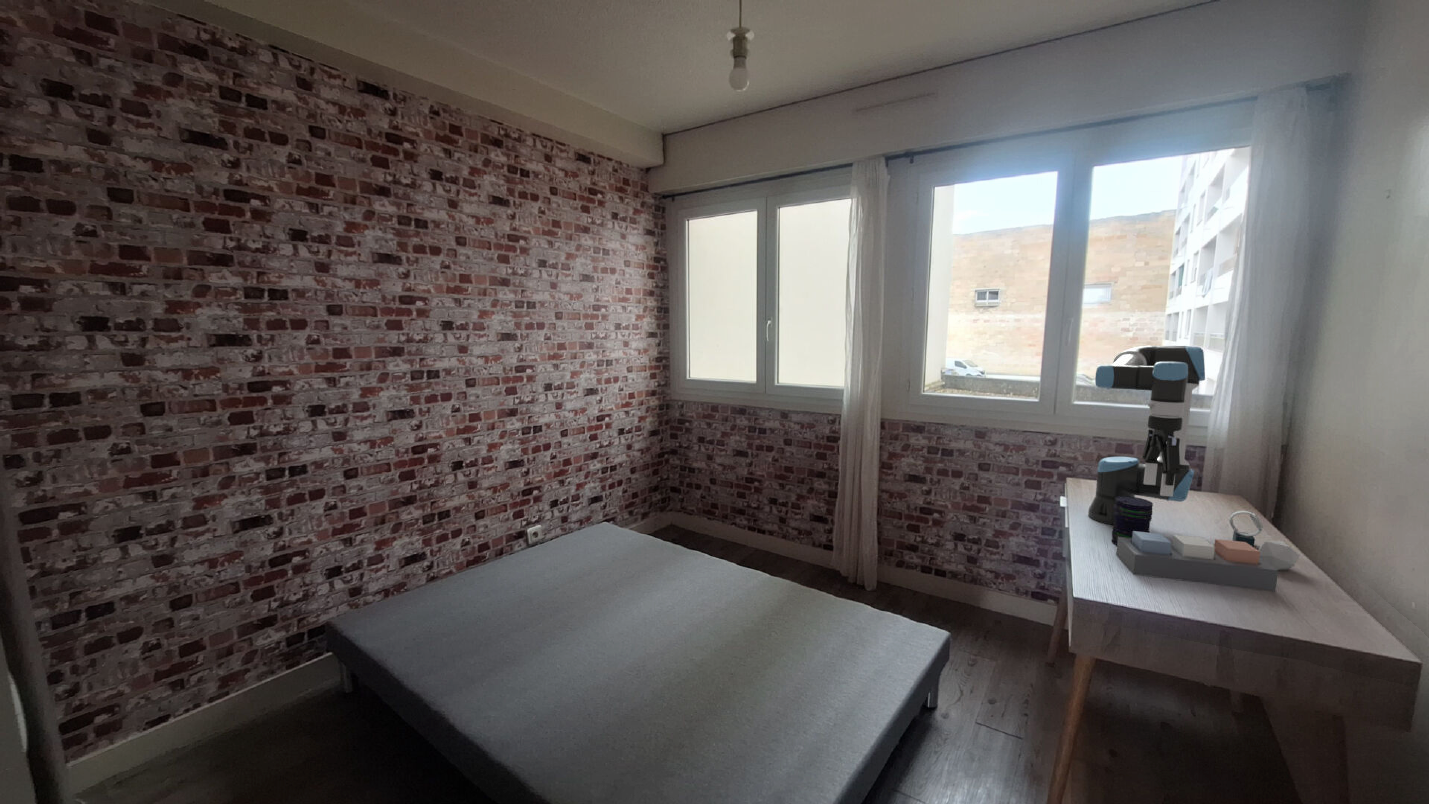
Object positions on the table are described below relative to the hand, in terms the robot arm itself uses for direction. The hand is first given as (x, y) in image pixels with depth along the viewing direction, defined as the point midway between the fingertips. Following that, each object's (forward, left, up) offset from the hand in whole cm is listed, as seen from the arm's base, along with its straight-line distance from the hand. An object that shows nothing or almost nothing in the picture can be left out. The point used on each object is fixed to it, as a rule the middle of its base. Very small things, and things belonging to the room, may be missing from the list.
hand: (1157, 489), depth 158 cm
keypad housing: (0, +10, -24) cm, 26 cm away
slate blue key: (0, 0, -19) cm, 19 cm away
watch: (-30, +36, -24) cm, 53 cm away
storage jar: (-18, +1, -24) cm, 30 cm away
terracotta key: (0, +20, -19) cm, 28 cm away
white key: (0, +10, -19) cm, 22 cm away
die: (-11, +35, -24) cm, 44 cm away
